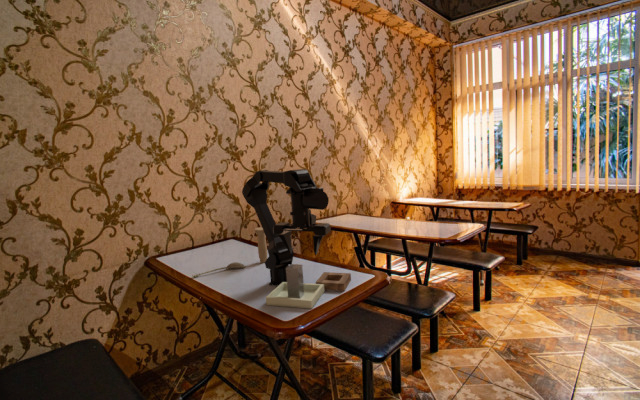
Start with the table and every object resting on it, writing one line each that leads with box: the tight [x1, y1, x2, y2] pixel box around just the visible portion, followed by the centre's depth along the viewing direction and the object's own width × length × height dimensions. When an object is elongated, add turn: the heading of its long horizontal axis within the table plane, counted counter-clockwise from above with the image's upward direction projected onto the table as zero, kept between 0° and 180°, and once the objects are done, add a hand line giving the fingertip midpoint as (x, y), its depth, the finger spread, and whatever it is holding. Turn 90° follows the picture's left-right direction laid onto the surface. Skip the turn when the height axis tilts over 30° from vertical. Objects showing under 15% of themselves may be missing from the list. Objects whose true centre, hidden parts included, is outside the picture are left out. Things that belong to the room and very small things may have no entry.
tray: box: [265, 282, 326, 310], centre depth 109 cm, size 15×13×2 cm
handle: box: [254, 226, 268, 264], centre depth 150 cm, size 5×6×15 cm
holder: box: [315, 271, 352, 292], centre depth 119 cm, size 10×10×2 cm
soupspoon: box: [192, 261, 246, 279], centre depth 141 cm, size 22×3×7 cm
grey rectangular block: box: [286, 263, 304, 299], centre depth 109 cm, size 4×4×10 cm
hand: (303, 253), depth 113 cm, fingers open, 9 cm apart
